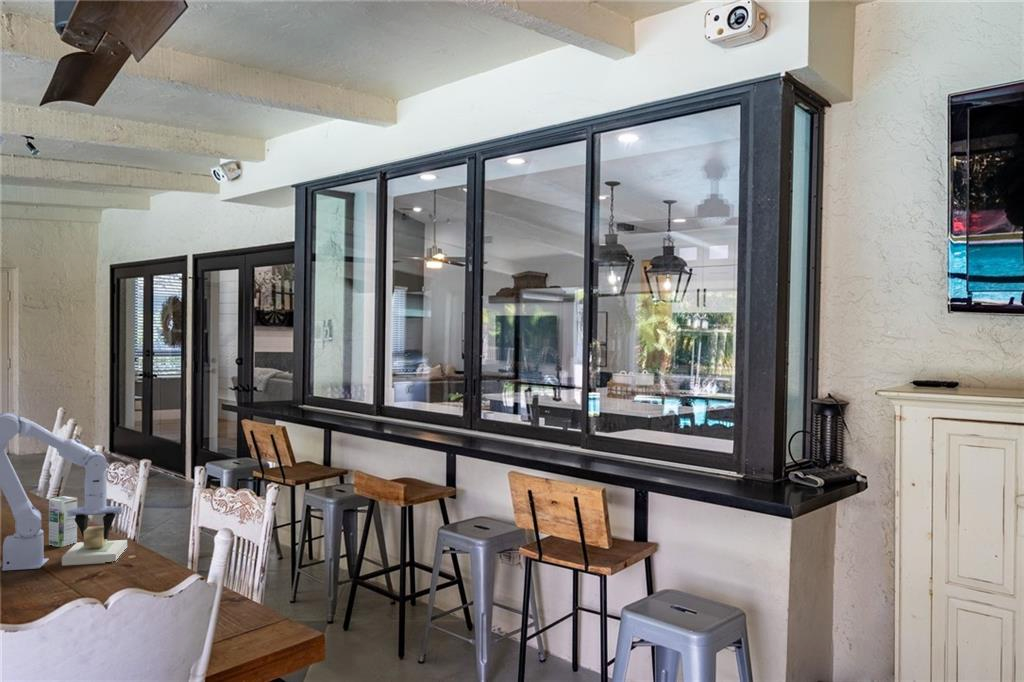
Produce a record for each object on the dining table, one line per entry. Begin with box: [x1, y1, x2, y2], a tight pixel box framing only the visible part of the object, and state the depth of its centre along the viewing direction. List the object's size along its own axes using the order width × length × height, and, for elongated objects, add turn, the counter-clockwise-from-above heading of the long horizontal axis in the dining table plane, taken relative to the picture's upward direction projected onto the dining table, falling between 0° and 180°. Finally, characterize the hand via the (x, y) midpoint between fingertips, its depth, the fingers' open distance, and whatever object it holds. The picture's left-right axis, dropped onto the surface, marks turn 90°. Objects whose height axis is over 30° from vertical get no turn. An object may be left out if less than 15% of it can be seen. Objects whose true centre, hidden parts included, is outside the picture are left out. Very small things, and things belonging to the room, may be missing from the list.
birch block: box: [83, 525, 108, 548], centre depth 225 cm, size 5×5×5 cm
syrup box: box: [48, 495, 78, 548], centre depth 236 cm, size 6×6×14 cm
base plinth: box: [61, 539, 128, 567], centre depth 225 cm, size 14×14×3 cm
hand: (95, 539), depth 225 cm, fingers closed on birch block, 5 cm apart
